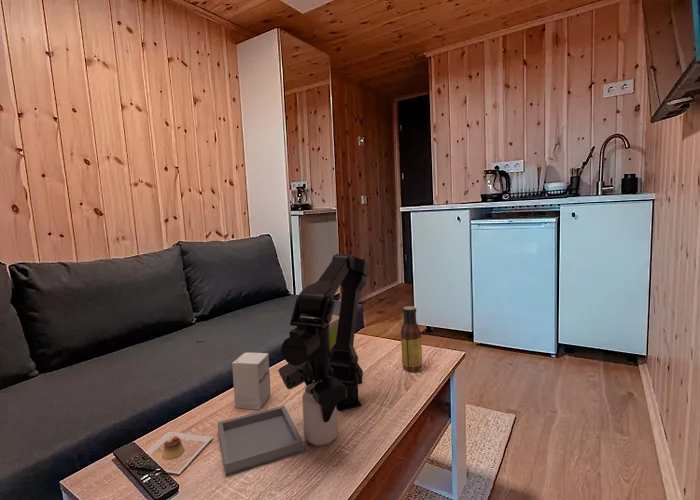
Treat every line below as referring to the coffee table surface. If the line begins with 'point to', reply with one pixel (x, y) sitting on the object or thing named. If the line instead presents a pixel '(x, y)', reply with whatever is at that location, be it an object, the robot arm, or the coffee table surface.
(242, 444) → the tray
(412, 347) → the sauce bottle
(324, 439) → the can
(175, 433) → the dessert
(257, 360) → the supplement box
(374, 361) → the coffee table surface
